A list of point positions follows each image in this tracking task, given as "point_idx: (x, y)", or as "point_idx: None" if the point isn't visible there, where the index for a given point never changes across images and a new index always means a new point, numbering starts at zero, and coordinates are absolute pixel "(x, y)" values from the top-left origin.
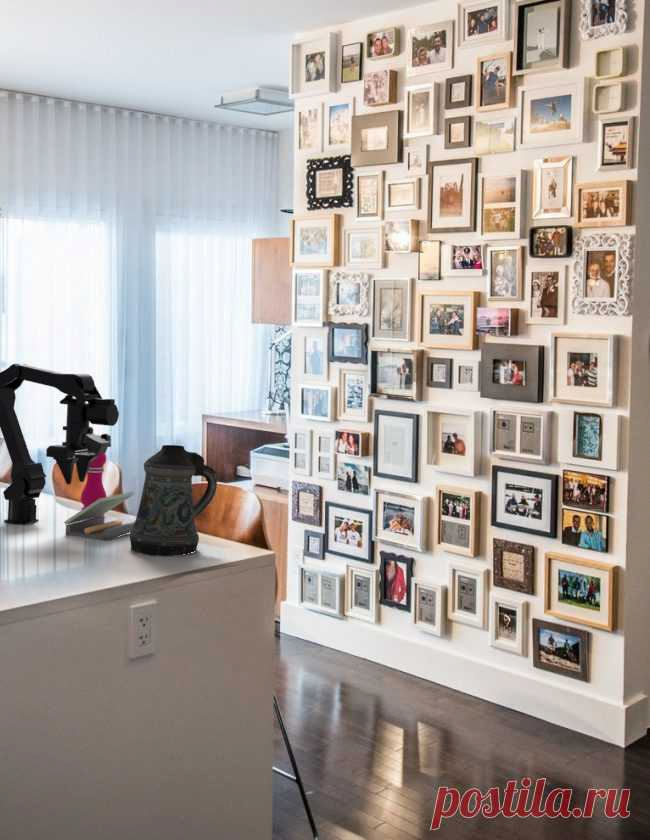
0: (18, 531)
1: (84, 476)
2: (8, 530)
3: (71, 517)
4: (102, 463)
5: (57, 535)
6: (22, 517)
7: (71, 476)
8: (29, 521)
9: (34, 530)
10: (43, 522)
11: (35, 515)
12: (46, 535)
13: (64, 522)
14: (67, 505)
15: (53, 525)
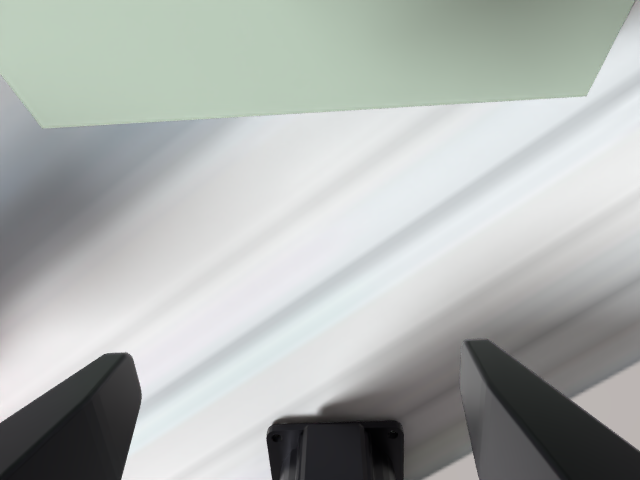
0: (579, 342)
1: (80, 396)
2: (579, 390)
3: (620, 21)
4: None
5: (583, 99)
6: (382, 467)
7: (539, 406)
8: (362, 425)
9: (503, 300)
10: (264, 397)
11: (312, 445)
12: (619, 154)
13: (585, 90)
14: None
15: (300, 315)
